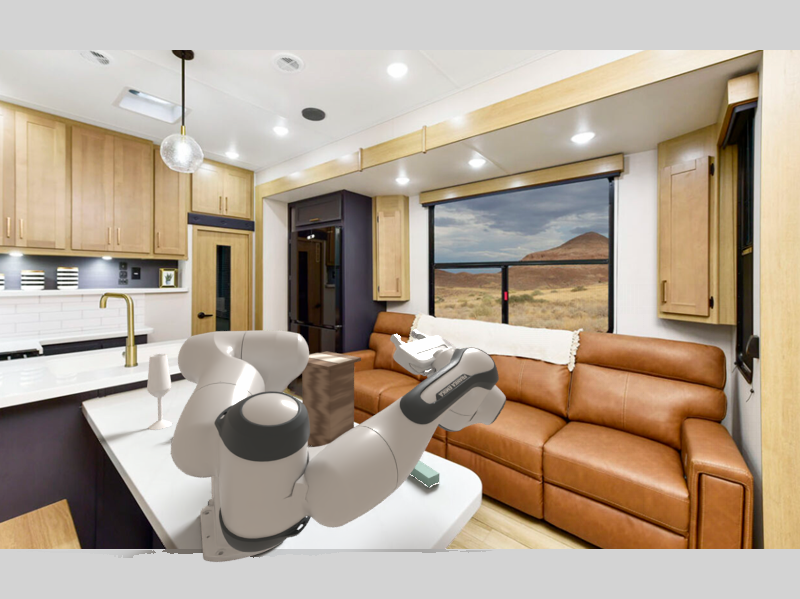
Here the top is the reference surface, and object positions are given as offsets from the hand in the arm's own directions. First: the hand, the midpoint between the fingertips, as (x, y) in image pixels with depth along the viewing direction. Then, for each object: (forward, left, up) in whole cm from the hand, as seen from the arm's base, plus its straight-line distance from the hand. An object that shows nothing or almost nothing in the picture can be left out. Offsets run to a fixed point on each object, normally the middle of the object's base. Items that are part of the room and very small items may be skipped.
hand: (403, 334), depth 90 cm
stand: (+23, +16, -36) cm, 46 cm away
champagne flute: (+52, +67, -36) cm, 93 cm away
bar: (-1, -2, -37) cm, 37 cm away
